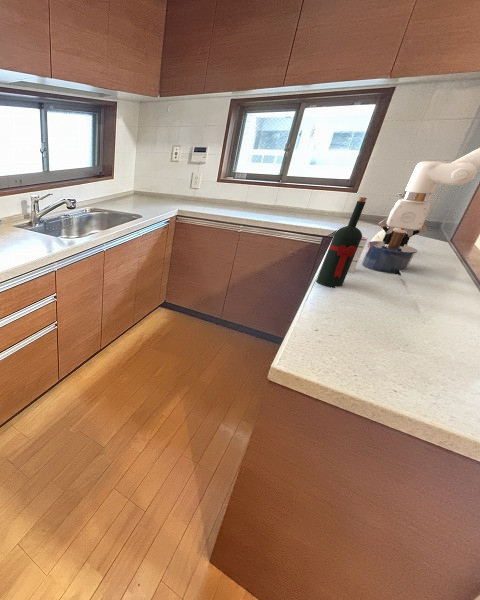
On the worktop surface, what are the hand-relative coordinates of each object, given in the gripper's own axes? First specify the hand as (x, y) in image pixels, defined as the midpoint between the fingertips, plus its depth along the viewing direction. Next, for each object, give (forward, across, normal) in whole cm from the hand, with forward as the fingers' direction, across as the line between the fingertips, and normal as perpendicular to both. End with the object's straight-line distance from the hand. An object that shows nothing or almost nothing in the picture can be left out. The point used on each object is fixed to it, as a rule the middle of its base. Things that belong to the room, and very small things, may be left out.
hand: (393, 244), depth 128 cm
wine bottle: (+10, -18, -36) cm, 41 cm away
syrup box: (+10, -14, -15) cm, 23 cm away
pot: (+10, 0, 0) cm, 10 cm away
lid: (+1, 0, 0) cm, 1 cm away
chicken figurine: (+10, +4, +33) cm, 35 cm away
